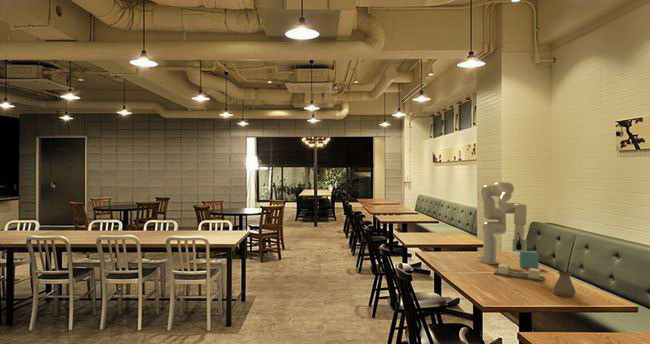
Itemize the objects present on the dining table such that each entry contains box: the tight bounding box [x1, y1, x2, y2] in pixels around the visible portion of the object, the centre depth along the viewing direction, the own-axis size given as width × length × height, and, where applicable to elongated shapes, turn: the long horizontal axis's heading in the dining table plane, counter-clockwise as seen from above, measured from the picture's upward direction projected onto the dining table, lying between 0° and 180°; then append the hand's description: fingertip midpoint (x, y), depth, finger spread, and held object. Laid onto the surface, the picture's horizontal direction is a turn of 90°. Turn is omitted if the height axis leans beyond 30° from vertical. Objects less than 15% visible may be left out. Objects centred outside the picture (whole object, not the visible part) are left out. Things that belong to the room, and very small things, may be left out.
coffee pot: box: [552, 263, 576, 297], centre depth 257 cm, size 21×12×15 cm, turn 169°
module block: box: [512, 238, 528, 253], centre depth 293 cm, size 8×4×8 cm, turn 56°
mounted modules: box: [497, 263, 541, 279], centre depth 293 cm, size 25×7×5 cm, turn 56°
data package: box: [519, 250, 540, 269], centre depth 320 cm, size 12×4×12 cm, turn 82°
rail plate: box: [493, 268, 545, 283], centre depth 293 cm, size 30×10×2 cm, turn 56°
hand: (519, 248), depth 293 cm, fingers closed on module block, 4 cm apart
